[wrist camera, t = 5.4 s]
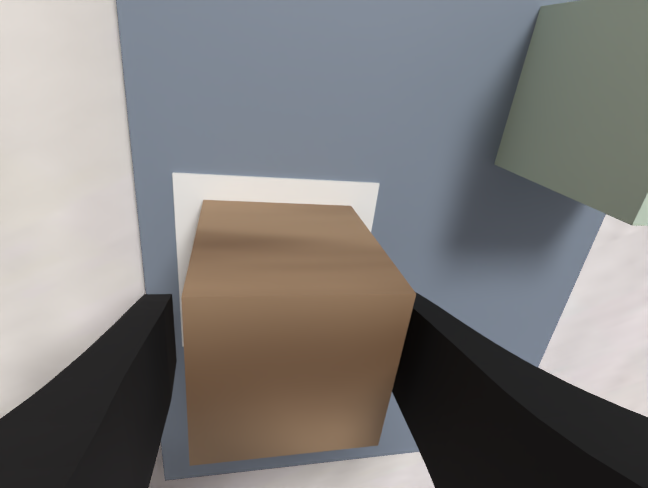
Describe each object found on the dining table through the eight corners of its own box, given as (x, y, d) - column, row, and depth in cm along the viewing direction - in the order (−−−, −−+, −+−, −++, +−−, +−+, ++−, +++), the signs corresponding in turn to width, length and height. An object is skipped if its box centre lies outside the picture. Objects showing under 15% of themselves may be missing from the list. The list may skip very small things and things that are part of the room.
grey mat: (497, 431, 20) (506, 443, 19) (167, 466, 16) (164, 482, 16) (696, -36, 12) (722, -41, 11) (106, -169, 8) (95, -187, 7)
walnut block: (333, 321, 14) (378, 445, 10) (205, 325, 13) (189, 465, 9) (351, 205, 12) (416, 293, 8) (203, 199, 11) (181, 297, 7)
